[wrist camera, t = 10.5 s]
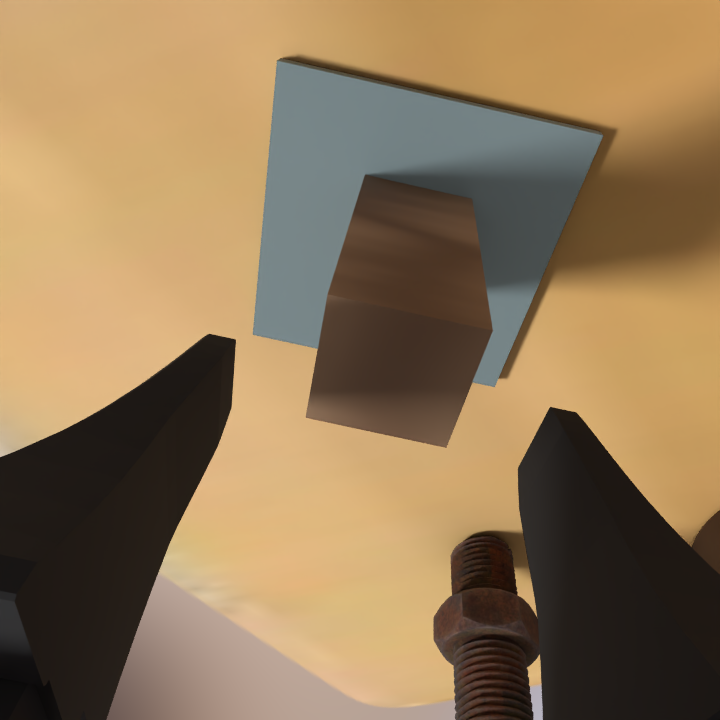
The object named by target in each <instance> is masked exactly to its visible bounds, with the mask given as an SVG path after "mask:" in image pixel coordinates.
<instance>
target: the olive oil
mask: <svg viewBox="0 0 720 720" xmlns="http://www.w3.org/2000/svg"><path fill="white" fill-rule="evenodd" d="M692 548H693V549H694V550H695V551H696V552H697V553H698V554H699V555H700V556H701V557H702V558H703V559H704V560H705V561H706V562H707V563H708V564H709V565H710V566H711V567H712V568H713V569H714V570H715V571H717V572H718V573H719V574H720V511H719V512H717V513H716V514H715V515H714V516H713V517H711V518H710V519H709V520H708V521H707V522H706V524H705V525H704V526H703V527H702V528H701V530H700V531H699V533H698V534H697V536H696V538H695V540H694V543H693V546H692Z"/></svg>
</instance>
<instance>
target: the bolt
mask: <svg viewBox="0 0 720 720" xmlns="http://www.w3.org/2000/svg"><path fill="white" fill-rule="evenodd" d="M514 571H515V570H514V567H513V556H512V551H511V549H508V545H507V544H506V543H505V542H503V541H501V540H499V539H497V538H495V537H493V536H480V537H475V538H470V539H467V540H465V541H463V542H462V543H460V544H459V545H458V546H456V547H455V549H454V550H453V552H452V554H451V580H452V582H451V583H452V596H450V597H449V598H448V599H447V600H446V601H445V602H444V603H443V604H442V605H441V607H440V608H439V610H438V611H437V613H436V614H435V616H434V641H435V643H436V645H437V647H438V649H439V650H440V652H441V653H442V655H443V656H444V657H445V659H446V660H447V661H448V662H449V663H451V664H452V665H454V678H455V679H454V684H455V689H454V692H455V694H456V695H455V703H456V706H455V710H456V712H457V713H456V714H455V719H456V720H533V711H532V703H531V694H530V686H529V685H528V684H529V678H528V670H527V667H528V666H530V665H531V664H532V663H533V662H534V661H535V660H536V659H537V657H538V656H539V654H540V645H539V631H538V619H537V617H536V615H535V613H534V612H533V610H532V609H531V607H530V606H529V604H528V603H527V602H526V601H525V600H524V599H523V598H521V597H519V596H517V587H516V579H515V573H514Z"/></svg>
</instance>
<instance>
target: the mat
mask: <svg viewBox="0 0 720 720" xmlns="http://www.w3.org/2000/svg"><path fill="white" fill-rule="evenodd" d="M602 138H603V135H602V133H601V132H600V131H596V130H592V129H587V128H583V127H579V126H574V125H570V124H565V123H561V122H557V121H552V120H548V119H544V118H539V117H535V116H531V115H526V114H522V113H518V112H513V111H509V110H504V109H500V108H496V107H491V106H487V105H483V104H478V103H474V102H470V101H465V100H461V99H457V98H452V97H448V96H444V95H439V94H435V93H430V92H426V91H422V90H417V89H413V88H409V87H404V86H400V85H396V84H391V83H387V82H383V81H378V80H374V79H369V78H365V77H361V76H356V75H352V74H348V73H343V72H339V71H335V70H330V69H326V68H322V67H317V66H313V65H308V64H304V63H300V62H295V61H291V60H287V59H282V58H280V59H279V60H277V67H276V78H275V90H274V101H273V112H272V124H271V135H270V146H269V158H268V169H267V180H266V192H265V203H264V214H263V225H262V237H261V248H260V259H259V271H258V282H257V293H256V305H255V316H254V327H253V335H257V336H261V337H266V338H271V339H275V340H280V341H284V342H289V343H294V344H298V345H303V346H307V347H312V348H317V349H318V345H319V339H320V334H321V328H322V322H323V317H324V311H325V305H326V300H327V294H328V291H329V288H330V285H331V281H332V278H333V275H334V272H335V269H336V265H337V262H338V259H339V256H340V253H341V250H342V246H343V243H344V240H345V237H346V234H347V230H348V227H349V224H350V221H351V218H352V214H353V211H354V208H355V205H356V202H357V198H358V195H359V192H360V189H361V186H362V182H363V179H364V176H365V175H369V176H373V177H378V178H382V179H387V180H391V181H396V182H400V183H404V184H409V185H413V186H418V187H422V188H427V189H431V190H435V191H440V192H444V193H449V194H453V195H458V196H462V197H466V198H471V199H472V201H473V207H474V213H475V220H476V226H477V232H478V239H479V245H480V252H481V258H482V264H483V271H484V277H485V283H486V290H487V296H488V302H489V309H490V315H491V321H492V328H493V332H492V334H491V337H490V339H489V342H488V344H487V347H486V349H485V352H484V354H483V357H482V359H481V362H480V364H479V367H478V369H477V372H476V374H475V377H474V379H473V383H478V384H483V385H487V386H492V387H495V385H496V383H497V380H498V378H499V376H500V373H501V371H502V369H503V366H504V364H505V362H506V359H507V357H508V355H509V352H510V350H511V348H512V346H513V343H514V341H515V339H516V336H517V334H518V332H519V329H520V327H521V325H522V322H523V320H524V318H525V316H526V313H527V311H528V309H529V306H530V304H531V302H532V299H533V297H534V295H535V292H536V290H537V288H538V285H539V283H540V281H541V279H542V276H543V274H544V272H545V269H546V267H547V265H548V262H549V260H550V258H551V255H552V253H553V251H554V249H555V246H556V244H557V242H558V239H559V237H560V235H561V232H562V230H563V228H564V225H565V223H566V221H567V218H568V216H569V214H570V212H571V209H572V207H573V205H574V202H575V200H576V198H577V195H578V193H579V191H580V188H581V186H582V184H583V182H584V179H585V177H586V175H587V172H588V170H589V168H590V165H591V163H592V161H593V158H594V156H595V154H596V151H597V149H598V147H599V145H600V142H601V140H602Z"/></svg>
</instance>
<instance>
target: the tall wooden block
mask: <svg viewBox="0 0 720 720" xmlns="http://www.w3.org/2000/svg"><path fill="white" fill-rule="evenodd" d="M492 332H493V328H492V321H491V315H490V309H489V302H488V296H487V290H486V283H485V277H484V271H483V264H482V258H481V252H480V245H479V239H478V232H477V226H476V220H475V213H474V207H473V201H472V199H471V198H466V197H462V196H458V195H453V194H449V193H444V192H440V191H435V190H431V189H427V188H422V187H418V186H413V185H409V184H404V183H400V182H396V181H391V180H387V179H382V178H378V177H373V176H369V175H365V176H364V179H363V182H362V186H361V189H360V192H359V195H358V198H357V202H356V205H355V208H354V211H353V214H352V218H351V221H350V224H349V227H348V230H347V234H346V237H345V240H344V243H343V246H342V250H341V253H340V256H339V259H338V262H337V265H336V269H335V272H334V275H333V278H332V281H331V285H330V288H329V291H328V294H327V300H326V305H325V311H324V317H323V322H322V328H321V334H320V339H319V345H318V351H317V356H316V362H315V368H314V373H313V379H312V385H311V390H310V396H309V402H308V407H307V413H306V418H310V419H314V420H319V421H324V422H328V423H333V424H338V425H342V426H347V427H352V428H356V429H361V430H366V431H370V432H375V433H380V434H385V435H389V436H394V437H399V438H403V439H408V440H413V441H417V442H422V443H427V444H431V445H436V446H441V447H445V448H446V447H447V445H448V442H449V440H450V437H451V435H452V432H453V430H454V427H455V425H456V422H457V420H458V417H459V415H460V412H461V409H462V407H463V404H464V402H465V399H466V397H467V394H468V392H469V389H470V387H471V384H472V382H473V379H474V377H475V374H476V372H477V369H478V367H479V364H480V362H481V359H482V357H483V354H484V352H485V349H486V347H487V344H488V342H489V339H490V337H491V334H492Z"/></svg>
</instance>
